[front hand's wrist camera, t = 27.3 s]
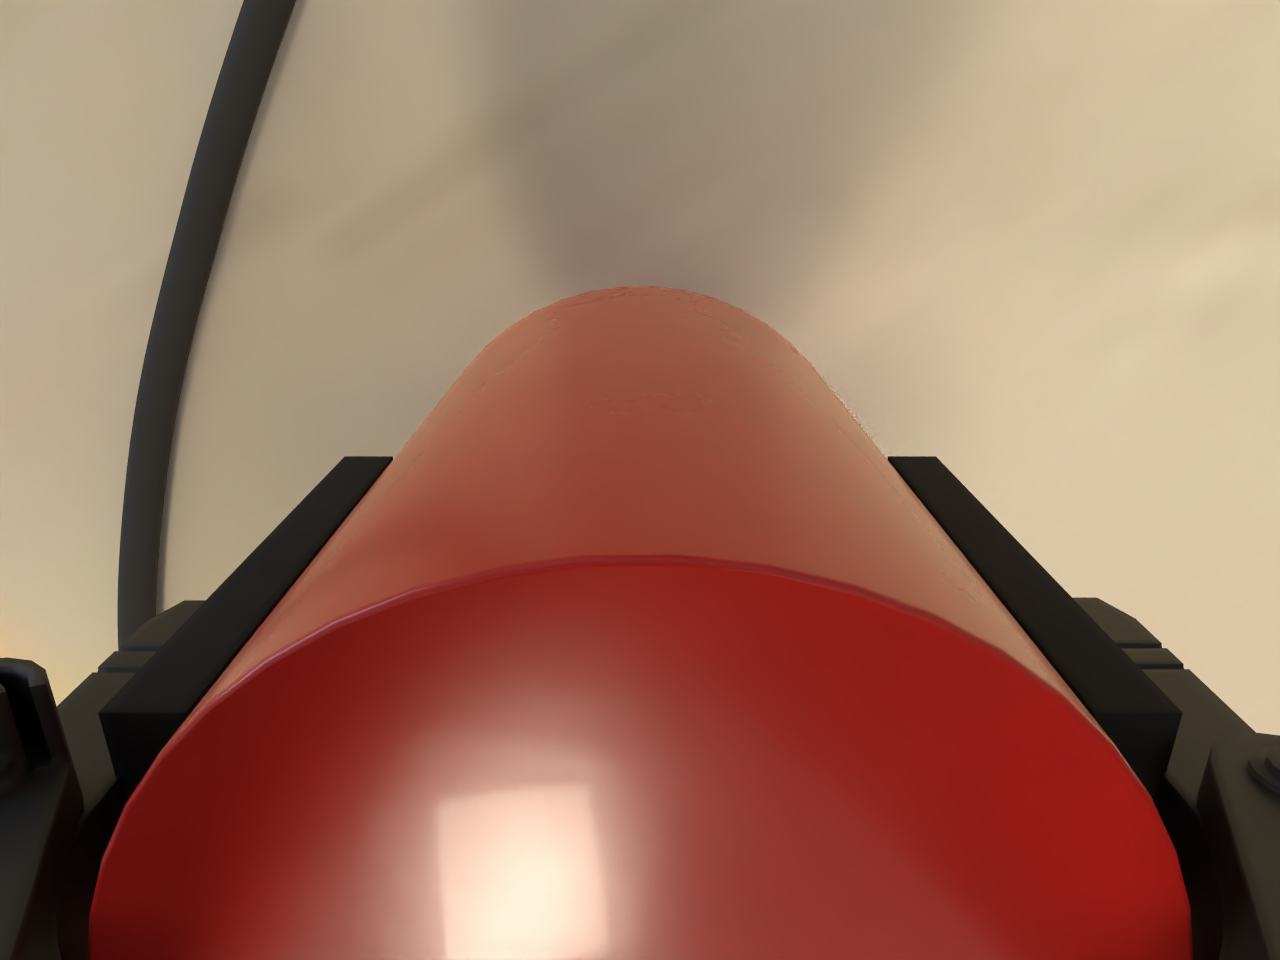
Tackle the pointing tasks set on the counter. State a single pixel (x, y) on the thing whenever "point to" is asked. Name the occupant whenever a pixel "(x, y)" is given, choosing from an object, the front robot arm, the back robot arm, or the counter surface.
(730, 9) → the counter surface
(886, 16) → the counter surface
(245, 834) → the tin
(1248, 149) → the counter surface
